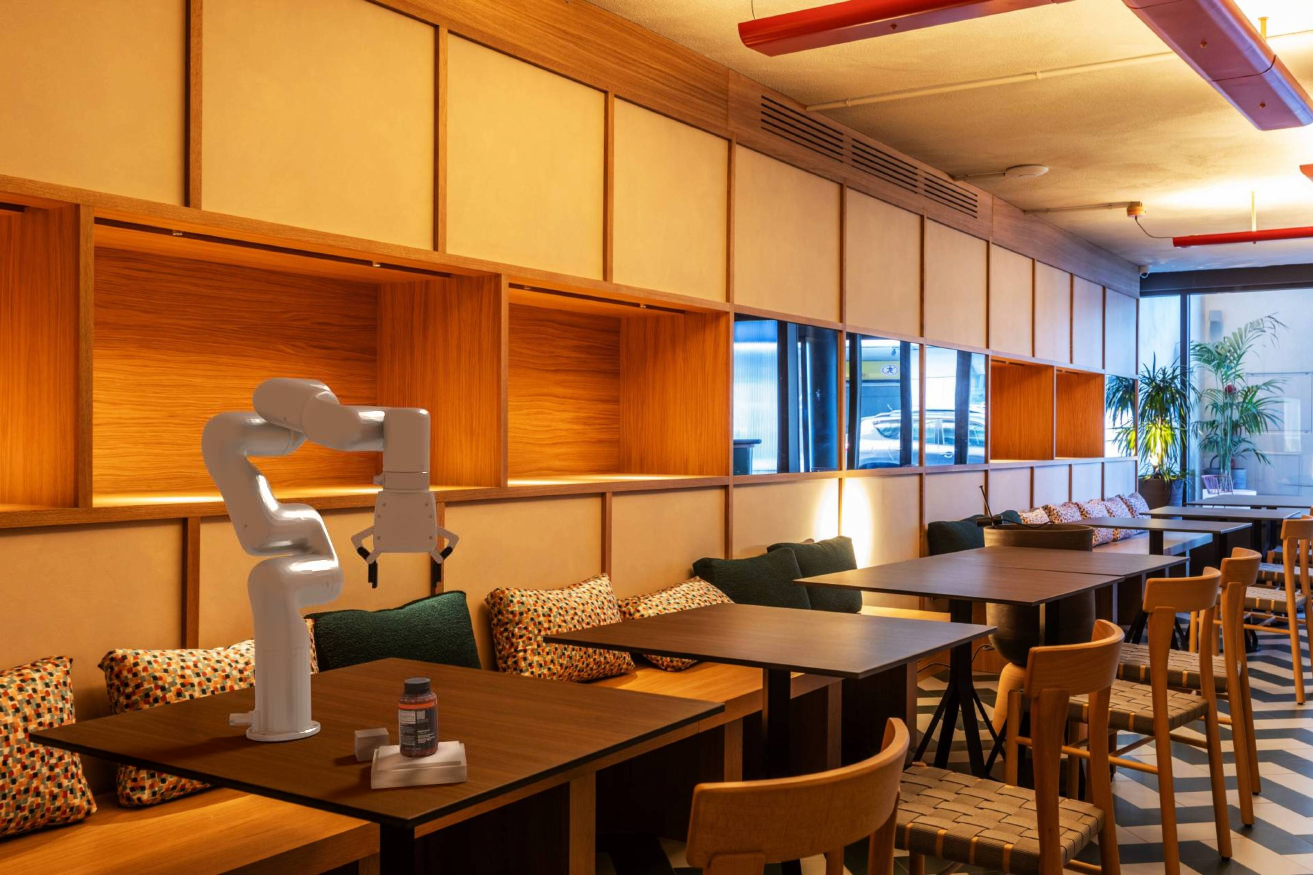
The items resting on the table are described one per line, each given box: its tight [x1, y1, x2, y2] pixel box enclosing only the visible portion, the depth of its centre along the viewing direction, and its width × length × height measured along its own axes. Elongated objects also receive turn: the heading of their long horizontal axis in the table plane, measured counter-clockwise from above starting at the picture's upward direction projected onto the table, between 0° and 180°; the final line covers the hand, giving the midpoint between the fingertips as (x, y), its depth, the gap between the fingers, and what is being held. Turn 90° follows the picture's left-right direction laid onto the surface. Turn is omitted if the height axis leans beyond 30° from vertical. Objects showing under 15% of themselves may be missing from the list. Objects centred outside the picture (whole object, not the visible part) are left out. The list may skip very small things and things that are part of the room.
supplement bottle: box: [397, 677, 439, 757], centre depth 177 cm, size 6×6×11 cm
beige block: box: [354, 727, 390, 762], centre depth 188 cm, size 5×5×4 cm
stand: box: [370, 740, 468, 790], centre depth 177 cm, size 14×14×3 cm
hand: (404, 587), depth 187 cm, fingers open, 9 cm apart
